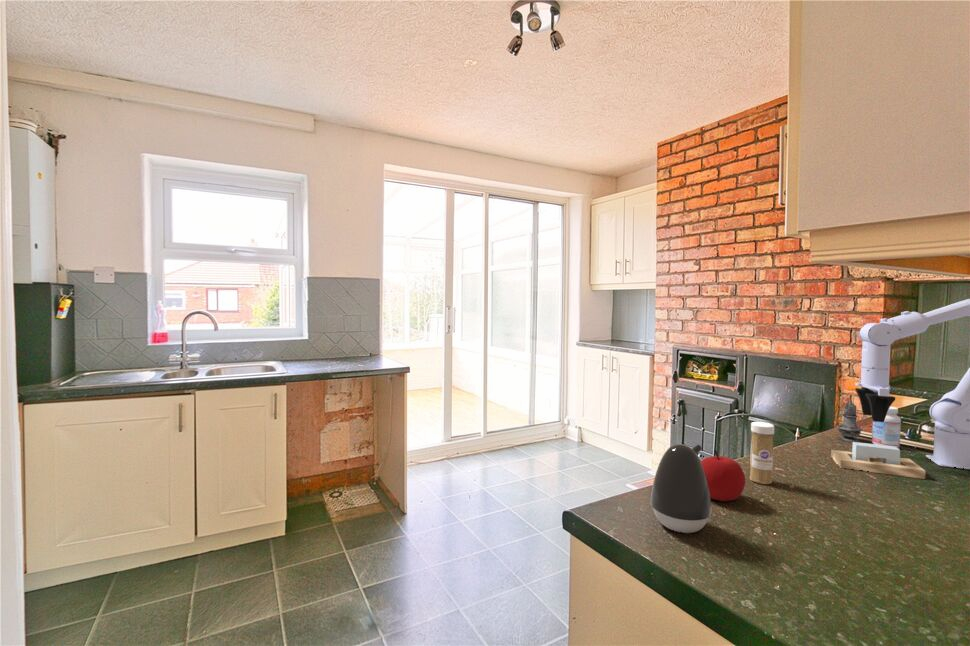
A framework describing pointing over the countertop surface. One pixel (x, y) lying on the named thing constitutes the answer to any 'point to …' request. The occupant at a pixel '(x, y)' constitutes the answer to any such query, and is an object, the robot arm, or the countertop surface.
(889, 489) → the countertop surface
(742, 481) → the apple
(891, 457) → the pale blue u-shaped block
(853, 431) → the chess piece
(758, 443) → the sprinkles bottle
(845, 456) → the wooden slotted board
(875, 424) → the pill bottle
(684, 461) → the grey egg-shaped body
